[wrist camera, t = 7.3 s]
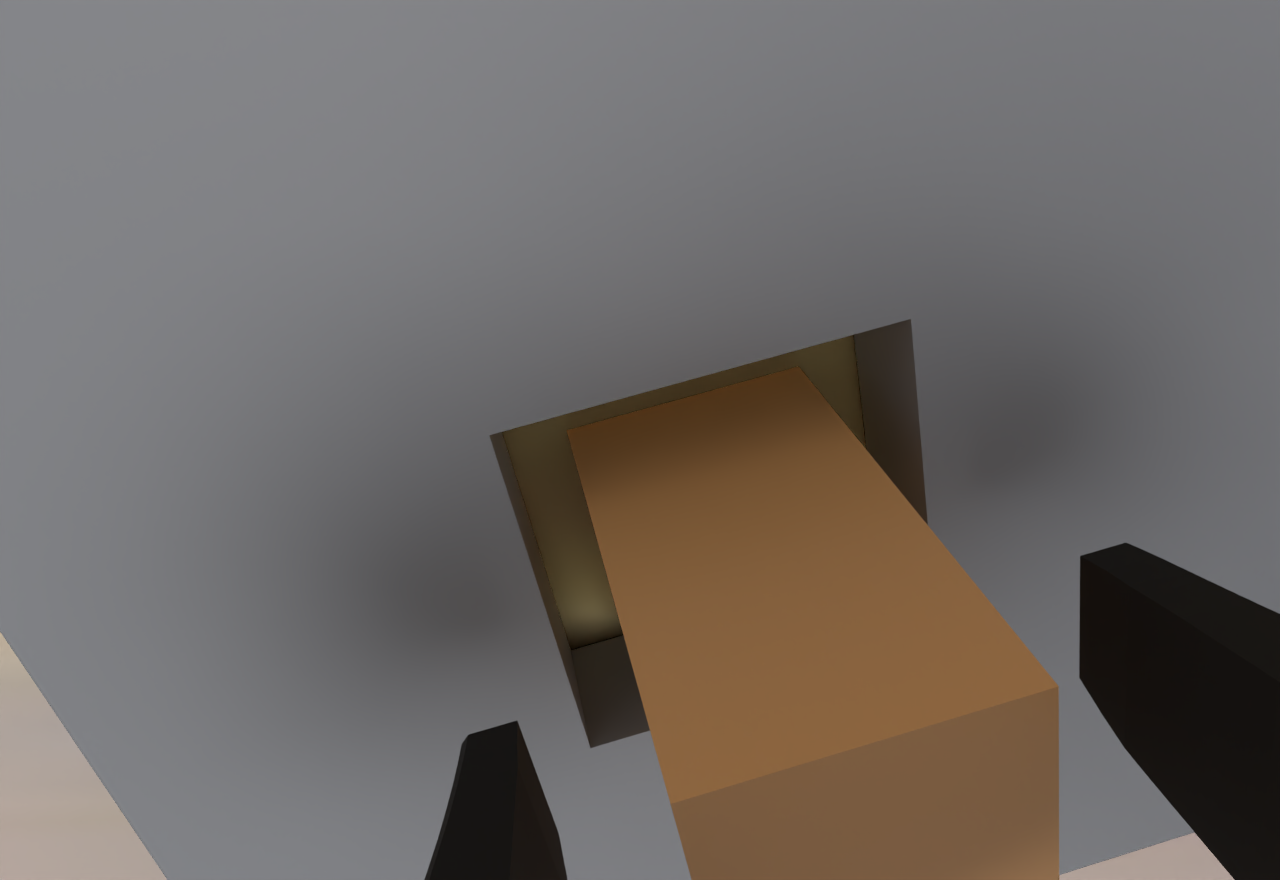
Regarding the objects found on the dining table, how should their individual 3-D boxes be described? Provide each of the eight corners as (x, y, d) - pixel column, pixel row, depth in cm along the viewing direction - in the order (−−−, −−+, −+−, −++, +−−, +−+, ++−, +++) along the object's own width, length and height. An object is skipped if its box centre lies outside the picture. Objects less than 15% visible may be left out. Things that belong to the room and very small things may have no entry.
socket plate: (1298, -377, 13) (1468, -430, 11) (1199, 719, 23) (1281, 804, 21) (-267, -8, 12) (-416, 13, 10) (331, 988, 22) (321, 1108, 20)
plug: (798, 366, 17) (1058, 685, 10) (825, 556, 19) (1059, 934, 12) (566, 430, 17) (671, 803, 10) (618, 616, 19) (736, 1038, 12)
